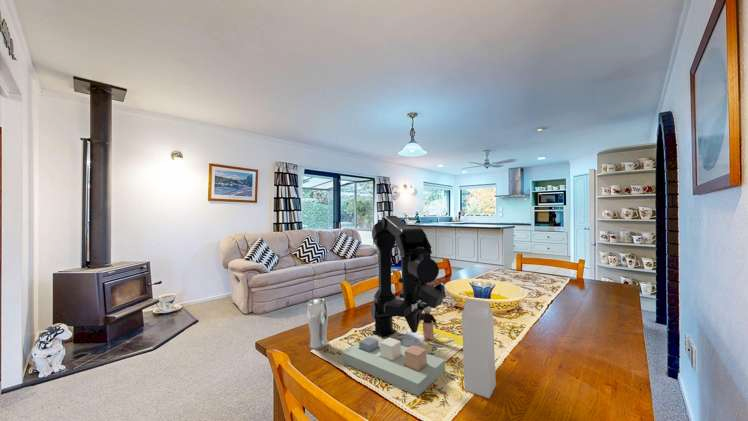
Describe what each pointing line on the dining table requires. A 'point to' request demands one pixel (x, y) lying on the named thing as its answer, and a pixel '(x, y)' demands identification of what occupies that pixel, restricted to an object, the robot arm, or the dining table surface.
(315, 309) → the beer glass
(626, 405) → the dining table surface
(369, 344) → the slate key
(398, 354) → the light grey cube
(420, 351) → the terracotta key
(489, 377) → the milk
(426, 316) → the grandmother figurine
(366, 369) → the console
